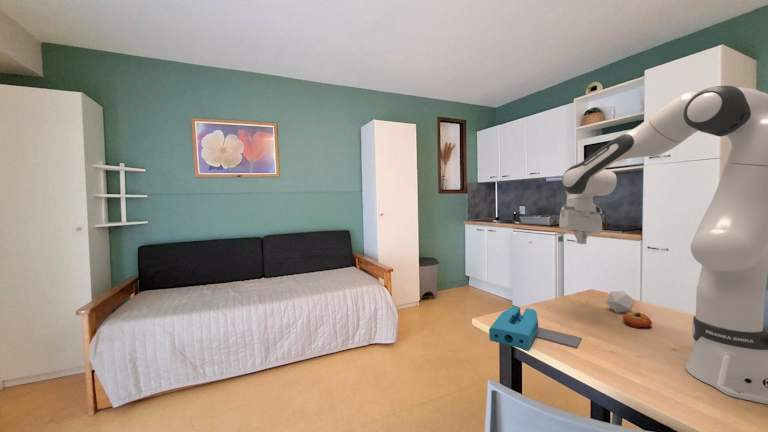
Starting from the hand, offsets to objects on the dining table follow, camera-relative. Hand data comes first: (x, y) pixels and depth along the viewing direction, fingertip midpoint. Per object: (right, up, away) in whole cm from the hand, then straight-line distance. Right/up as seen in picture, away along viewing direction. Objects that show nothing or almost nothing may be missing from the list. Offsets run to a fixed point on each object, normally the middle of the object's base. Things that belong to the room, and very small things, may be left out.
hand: (581, 243), depth 116 cm
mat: (-21, -30, -13) cm, 39 cm away
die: (+19, -28, +6) cm, 34 cm away
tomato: (+15, -29, -7) cm, 33 cm away
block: (-24, -25, -4) cm, 35 cm away
